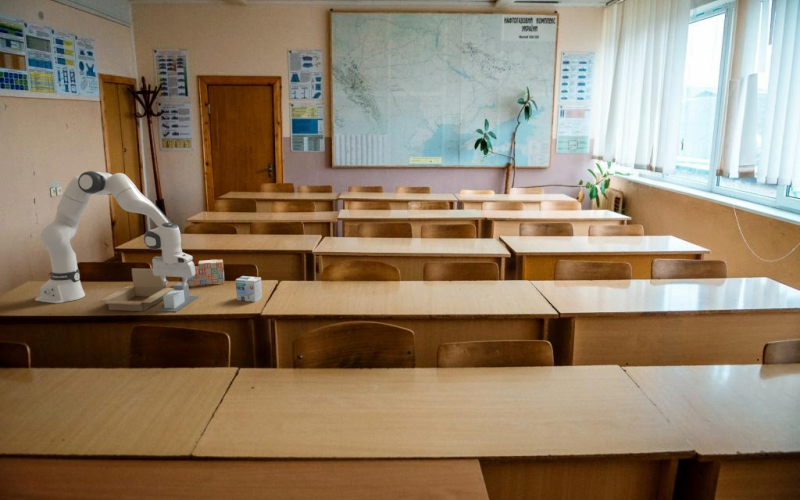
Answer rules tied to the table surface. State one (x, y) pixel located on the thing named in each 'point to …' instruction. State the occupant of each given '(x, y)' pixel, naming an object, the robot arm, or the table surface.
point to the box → (176, 296)
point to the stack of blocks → (207, 273)
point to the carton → (138, 292)
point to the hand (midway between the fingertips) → (175, 285)
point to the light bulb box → (249, 288)
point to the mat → (177, 306)
